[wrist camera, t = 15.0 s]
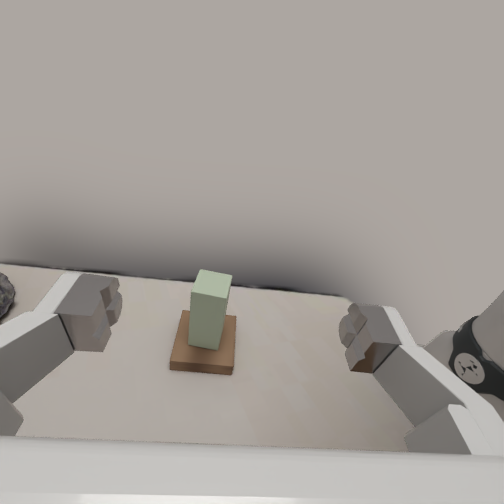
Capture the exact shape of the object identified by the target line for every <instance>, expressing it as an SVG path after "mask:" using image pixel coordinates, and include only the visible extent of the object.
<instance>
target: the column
mask: <svg viewBox="0 0 504 504" xmlns="http://www.w3.org/2000/svg"><path fill="white" fill-rule="evenodd" d="M231 280H232V276H231V275H227V274H222V273H216V272H212V271H207V270H202V269H200V272H199V274H198V276H197V278H196V281H195V283H194V286H193V288H192V290H191V301H190V318H189V336H188V345H192V346H197V347H202V348H207V349H212V350H217V351H218V348H219V343H220V339H221V335H222V331H223V327H224V321H225V315H226V309H227V303H228V298H229V292H230V286H231Z"/></svg>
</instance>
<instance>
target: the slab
mask: <svg viewBox="0 0 504 504" xmlns="http://www.w3.org/2000/svg"><path fill="white" fill-rule="evenodd" d="M189 318H190V311H186V310H183V311H182V315H181V319H180V323H179V327H178V331H177V334H176V338H175V342H174V346H173V350H172V354H171V358H170V370H177V371H189V372H201V373H213V374H224V375H231V374H232V371H233V367H234V349H235V331H236V316H231V315H225V321H224V327H223V331H222V335H221V339H220V343H219V348H218V351H217V350H212V349H207V348H202V347H197V346H192V345H188V336H189Z"/></svg>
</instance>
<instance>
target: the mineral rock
mask: <svg viewBox="0 0 504 504" xmlns="http://www.w3.org/2000/svg"><path fill="white" fill-rule="evenodd" d="M14 293H15V291H14V287H13V285H11V283H10V281H9V280H8V277H7V276H6V275H4V274H3V273H0V317H1V316H2V315H3V314H5V313H6V312H7V310H8V306H9V305H10V304H11V303H12V302H13V301H14V298H13V295H14Z"/></svg>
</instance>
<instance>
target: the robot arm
mask: <svg viewBox="0 0 504 504" xmlns="http://www.w3.org/2000/svg"><path fill="white" fill-rule="evenodd" d="M119 286H120V285H119V281H118V278H115V277H107V276H99V275H92V274H82V273H75V272H65V273H64V274H62V275H61V276H60V277H59V279H58V280H57V281H56V283H55V284H54V285H53V286H52V288H51V289H50V290H49V291H48V293H47V294H46V295H45V296H44V298H43V299H42V300H41V301H40V303H39V304H38V305H37V306H36V308H35V309H34V310H33V311H32V312H29V311H26V312H25V313H23V314H21V315H19V316H17V317H15V318H13V319H11V320H9V321H7V322H5V323H4V324H2V325H0V504H504V291H503V292H502V293H501V294H500V295H499V296H498V298H497V299H496V300H495V301H494V302H493V303H492V304H491V305H490V306H489V307H488V308H487V309H486V310H485V311H484V312H483V313H482V314H481V315H480V316H475V317H472V318H471V319H470V320H468V321H466V322H465V323H464V324H462V325H461V326H460V328H459V329H458V330H457V331H447V330H445V331H443V332H441V333H440V334H439V335H437V336H436V337H435V338H434V339H432V340H431V341H430V342H429V343H427V344H426V345H419V344H416V343H415V341H414V340H413V338H412V336H411V334H410V332H409V331H408V329H407V327H406V325H405V323H404V322H403V320H402V318H401V316H400V314H399V313H398V311H397V310H396V309H395V308H394V307H388V306H378V305H368V304H359V303H353V304H351V305H350V306H349V308H348V312H349V314H348V315H346V316H344V317H343V318H342V320H341V322H340V325H339V337H340V340H341V343H342V344H343V345H344V346H345V347H346V348H347V349H346V352H345V356H346V359H347V363H348V366H349V369H350V371H354V372H364V373H373V376H374V377H375V378H376V380H377V381H378V382H379V383H380V384H381V386H382V387H383V388H384V389H385V391H386V392H387V393H388V394H389V395H390V397H391V398H392V399H393V400H394V402H395V403H396V404H397V405H398V406H399V408H400V409H401V410H402V411H403V413H404V414H405V415H406V416H407V417H408V419H409V420H410V421H411V422H412V424H413V425H414V426H415V428H414V429H412V430H411V431H409V432H408V433H406V435H405V437H404V439H405V442H406V444H407V447H408V449H409V452H395V451H371V450H346V449H322V448H297V447H273V446H248V445H224V444H199V443H175V442H150V441H125V440H101V439H76V438H51V437H27V436H15V435H16V433H17V431H18V429H19V428H20V426H21V424H22V422H23V421H24V419H23V416H22V414H21V413H20V412H19V411H18V410H17V409H16V407H15V406H14V405H13V404H12V403H14V402H15V401H16V400H17V399H18V398H20V397H21V396H22V395H23V394H25V393H26V392H27V391H28V390H29V389H31V388H32V387H33V386H34V385H35V384H37V383H38V382H39V381H40V380H41V379H43V378H44V377H45V376H46V375H47V374H49V373H50V372H51V371H52V370H53V369H55V368H56V367H57V366H58V365H60V364H61V363H62V362H63V361H64V360H66V359H67V358H68V357H69V356H70V355H72V354H73V353H74V351H91V352H103V351H104V349H105V347H106V345H107V342H108V340H109V338H110V336H111V330H110V327H111V326H112V325H114V324H115V323H117V321H118V319H119V316H120V313H121V309H122V295H121V294H120V293H119V292H118V291H117V290H118V288H119Z"/></svg>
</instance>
